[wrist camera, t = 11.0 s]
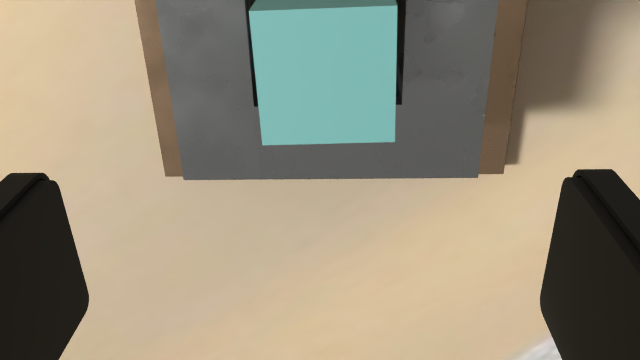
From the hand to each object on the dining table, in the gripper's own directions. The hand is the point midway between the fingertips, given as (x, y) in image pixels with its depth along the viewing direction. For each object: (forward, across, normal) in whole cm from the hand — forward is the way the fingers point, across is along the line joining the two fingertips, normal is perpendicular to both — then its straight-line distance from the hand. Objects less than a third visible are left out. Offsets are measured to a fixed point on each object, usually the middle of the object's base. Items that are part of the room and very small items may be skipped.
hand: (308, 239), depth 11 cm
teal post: (+21, 0, 0) cm, 21 cm away
